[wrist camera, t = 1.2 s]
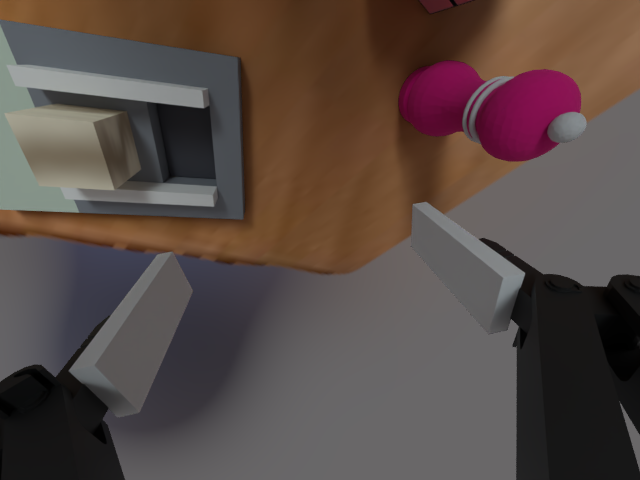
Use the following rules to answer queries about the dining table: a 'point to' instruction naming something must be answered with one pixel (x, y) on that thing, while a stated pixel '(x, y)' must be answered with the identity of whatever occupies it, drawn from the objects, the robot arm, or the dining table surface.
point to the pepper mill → (494, 108)
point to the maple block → (76, 145)
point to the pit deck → (144, 116)
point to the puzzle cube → (441, 4)
